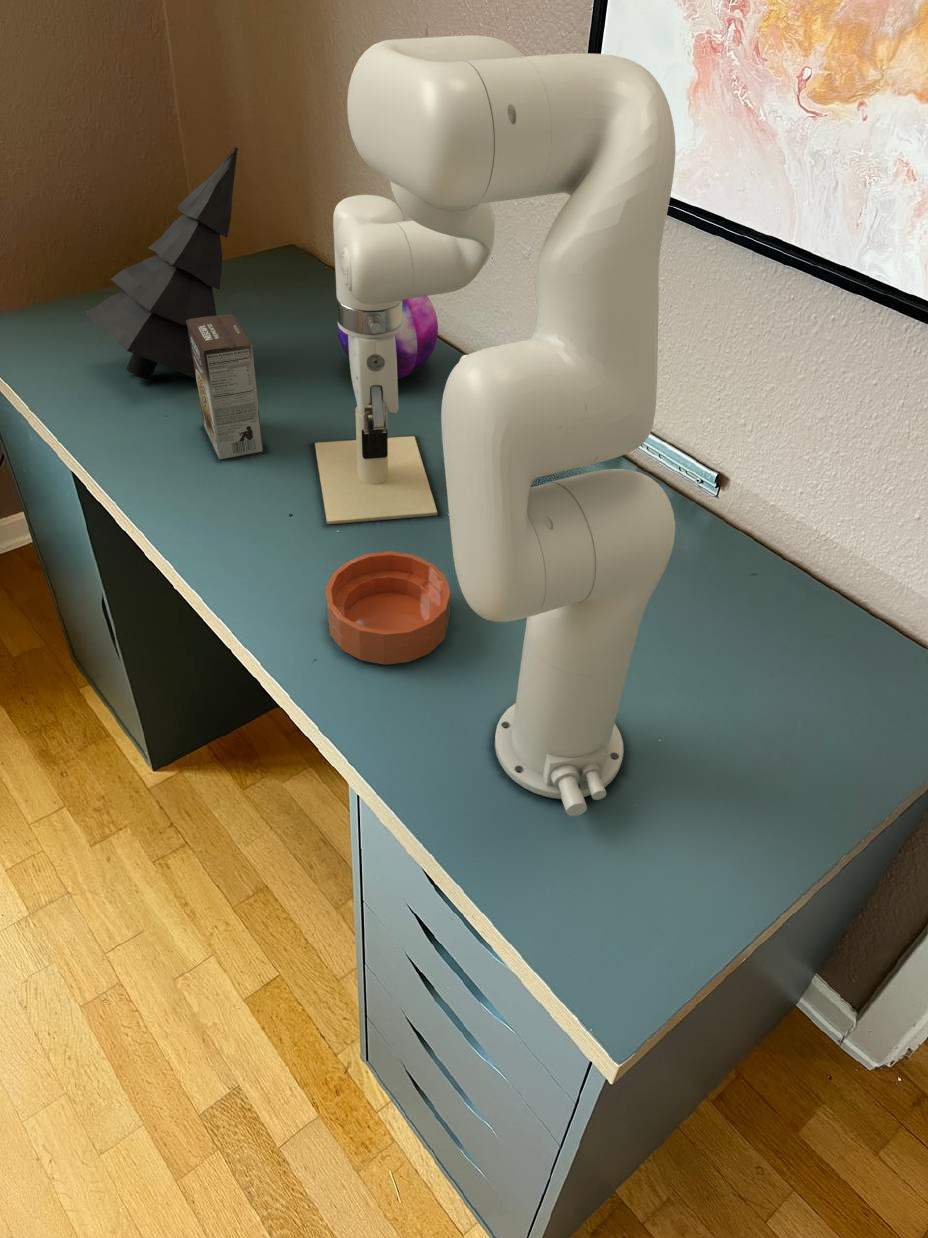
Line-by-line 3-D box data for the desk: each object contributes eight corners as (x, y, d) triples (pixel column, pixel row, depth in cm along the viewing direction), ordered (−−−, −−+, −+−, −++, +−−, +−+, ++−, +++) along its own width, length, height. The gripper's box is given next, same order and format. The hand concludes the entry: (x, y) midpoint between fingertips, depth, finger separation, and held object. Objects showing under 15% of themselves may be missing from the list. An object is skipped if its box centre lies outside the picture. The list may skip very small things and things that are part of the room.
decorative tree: (202, 408, 139) (304, 187, 130) (115, 379, 128) (220, 133, 118) (157, 368, 147) (250, 157, 138) (71, 338, 135) (166, 104, 126)
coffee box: (202, 427, 130) (184, 318, 119) (247, 418, 132) (233, 311, 121) (218, 461, 124) (200, 349, 113) (265, 452, 126) (252, 342, 115)
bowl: (458, 659, 99) (460, 626, 96) (335, 673, 97) (332, 640, 93) (436, 580, 108) (437, 547, 105) (323, 591, 106) (321, 557, 102)
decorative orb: (395, 341, 151) (395, 250, 141) (456, 378, 143) (460, 284, 133) (320, 368, 143) (314, 273, 133) (380, 408, 136) (379, 311, 125)
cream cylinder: (389, 483, 121) (389, 416, 114) (359, 485, 120) (357, 418, 114) (385, 466, 124) (385, 400, 117) (356, 468, 123) (353, 402, 116)
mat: (437, 515, 117) (437, 512, 117) (327, 524, 115) (327, 521, 115) (414, 438, 130) (414, 435, 130) (314, 445, 128) (314, 442, 127)
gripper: (413, 344, 101) (411, 482, 114) (391, 280, 113) (391, 411, 126) (345, 347, 100) (351, 486, 113) (330, 282, 112) (336, 414, 124)
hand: (372, 445), depth 119 cm, fingers closed on cream cylinder, 4 cm apart
